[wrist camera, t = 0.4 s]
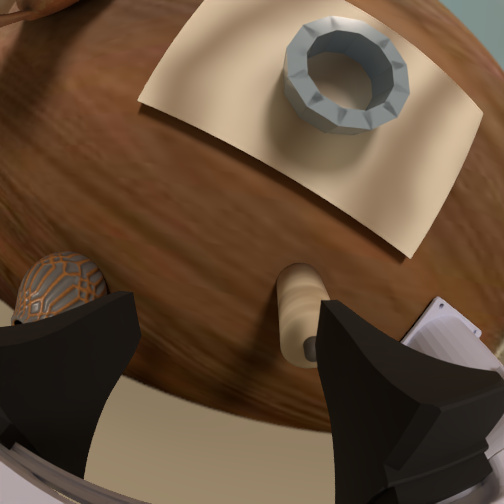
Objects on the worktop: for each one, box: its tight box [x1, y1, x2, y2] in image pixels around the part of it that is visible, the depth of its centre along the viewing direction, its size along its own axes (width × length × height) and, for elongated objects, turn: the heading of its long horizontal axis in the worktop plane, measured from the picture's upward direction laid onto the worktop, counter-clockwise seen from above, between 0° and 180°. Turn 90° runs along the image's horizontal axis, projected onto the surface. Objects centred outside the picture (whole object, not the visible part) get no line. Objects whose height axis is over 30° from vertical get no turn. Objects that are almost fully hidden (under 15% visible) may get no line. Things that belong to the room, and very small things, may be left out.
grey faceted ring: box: [283, 16, 410, 135], centre depth 13 cm, size 7×7×4 cm
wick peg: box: [277, 263, 330, 368], centre depth 16 cm, size 3×3×8 cm
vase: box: [11, 251, 107, 326], centre depth 17 cm, size 7×7×9 cm
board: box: [137, 0, 483, 259], centre depth 15 cm, size 22×14×1 cm, turn 61°
